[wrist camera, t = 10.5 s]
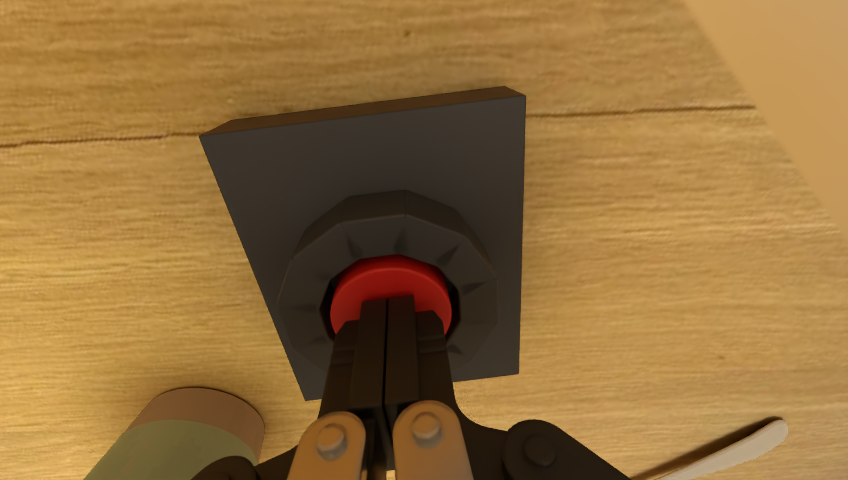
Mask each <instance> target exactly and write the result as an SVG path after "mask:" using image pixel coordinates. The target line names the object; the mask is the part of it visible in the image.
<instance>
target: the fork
mask: <svg viewBox="0 0 848 480" xmlns="http://www.w3.org/2000/svg"><path fill="white" fill-rule="evenodd" d="M787 434H788V427H787V423H786V421H785V420H776V421H773V422H771V423H769V424H768V425H766V426H764V427H763V428H761V429H760V430H758V431H756V432H755V433H753V434H751V435H750V436H748V437H746V438H744V439H742V440H740V441H738V442H736V443H734V444H732V445H730V446H728V447H726V448H724V449H722V450H719V451H717V452H715V453H713V454H711V455H709V456H706V457H704V458H702V459H700V460H698V461H696V462H693V463H691V464H689V465H687V466H685V467H682V468H680V469H678V470H675V471H673V472H671V473H668V474H666V475H664V476H662V477H659V478H657V479H655V480H691V479H694V478H698V477H701V476H704V475H707V474H711V473H714V472H717V471H720V470H723V469H727V468H730V467H733V466H736V465H738V464H741V463H744V462H747V461H749V460H752V459H755V458H757V457H760V456H762V455H764V454H765V453H767V452H768V451H770V450H772V449H773V448H775V447H777V446H778V445H780V444H781V443H782V442H783V441H784V440H785V438H786V436H787Z"/></svg>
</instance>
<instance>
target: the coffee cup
mask: <svg viewBox="0 0 848 480" xmlns="http://www.w3.org/2000/svg"><path fill="white" fill-rule="evenodd" d="M264 434H265V428H264V423H263V421H262V419H261V417H260V416H259V414H258V413H257V412H256V411H255V410H254V409H253V408H252V407H251V406H250V405H248V404H247V403H246V402H244V401H242V400H241V399H239V398H237V397H235V396H232V395H230V394H227V393H224V392H221V391H216V390H212V389H205V388H183V389H177V390H173V391H169V392H166V393H164V394H161V395H159V396H158V397H156V398H154V399H153V400H152V401H151V402H150V403H149V404H148V405H147V406H146V407H145V409H144V410H143V411H142V412H141V413H140V414H139V416H138V417H137V418H136V419H135V420H134V421H133V422H132V424H131V425H130V426H129V427H128V428H127V429H126V431H125V432H124V433H123V434H122V435H121V436H120V437H119V439H118V440H117V441H116V442H115V443H114V444H113V446H112V447H111V448H110V449H109V450H108V451H107V453H106V454H105V455H104V456H103V457H102V459H101V460H100V461H99V462H98V463H97V464H96V466H95V467H94V468H93V469H92V470H91V471H90V473H89V474H88V475H87V476H86V477H85V478H84V480H191V479H192V478H193V477H194V476H195V475H196V474H197V473H198V472H200V471H201V470H202V469H203V468H205V467H206V466H208V465H209V464H211V463H212V462H214V461H216V460H218V459H221V458H224V457H228V456H235V455H236V456H242V457H245V458H247V459H248V460H250V461H251V463H252V464H253V466H256V465H258V463H259V458H260V453H261V448H262V444H263V439H264Z"/></svg>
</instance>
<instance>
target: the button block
mask: <svg viewBox="0 0 848 480" xmlns="http://www.w3.org/2000/svg"><path fill="white" fill-rule="evenodd" d="M525 117H526V95H524V94H522V93H519V92H517V91H515V90H512V89H510V88H508V87H505V86H502V87H494V88H486V89H478V90H470V91H462V92H454V93H446V94H437V95H429V96H421V97H413V98H405V99H397V100H389V101H381V102H373V103H365V104H357V105H349V106H341V107H333V108H325V109H317V110H309V111H301V112H293V113H285V114H277V115H269V116H261V117H253V118H245V119H236V120H230V121H228V122H226V123H224V124H222V125H220V126H218V127H216V128H214V129H212V130H210V131H208V132H206V133H203V134H201V135H200V136H199V139H200V141H201V144H202V146H203V149H204V151H205V154H206V156H207V159H208V161H209V163H210V166H211V168H212V171H213V173H214V176H215V178H216V181H217V183H218V186H219V188H220V191H221V193H222V196H223V198H224V201H225V203H226V206H227V208H228V211H229V213H230V216H231V218H232V220H233V223H234V225H235V228H236V230H237V233H238V235H239V238H240V240H241V243H242V245H243V248H244V250H245V253H246V255H247V258H248V260H249V263H250V265H251V268H252V270H253V273H254V275H255V278H256V280H257V282H258V285H259V287H260V290H261V292H262V295H263V297H264V300H265V302H266V305H267V307H268V310H269V312H270V315H271V317H272V320H273V322H274V325H275V327H276V330H277V332H278V335H279V337H280V339H281V342H282V344H283V347H284V349H285V352H286V354H287V357H288V359H289V362H290V364H291V367H292V369H293V372H294V374H295V377H296V379H297V382H298V384H299V387H300V389H301V392H302V394H303V397H304V399H305V401H309V400H317V399H322V397H323V392H324V387H325V382H326V378H327V373H328V368H329V366H330V359H331V354H332V353H333V345H334V340H335V335H336V333H335V332H334V329H333V327H332V324H331V319H330V310H331V304H332V300H333V296H334V292H335V288H336V284H337V280H338V276H339V273H340V272H342V271H343V270H345V269H346V268H347V267H349V266H350V265H352V264H353V263H355V262H356V261H358V260H359V259H363V258H371V257H379V256H387V255H395V254H402V255H405V256H408V257H411V258H413V259H416V260H419V261H422V262H425V263H428V264H431V265H434V266H437V267H438V268H439V269H440V270H441V271H442V273H443V274H444V275H445V279H446V284H447V289H448V294H449V299H450V304H451V310H452V316H451V322H450V325H449V328H448V330H447V332H446V334H445V339H446V345H447V352H448V358H449V364H450V371H451V377H452V382H460V381H468V380H475V379H483V378H491V377H499V376H507V375H515V374H519V351H520V312H521V273H522V234H523V195H524V156H525Z"/></svg>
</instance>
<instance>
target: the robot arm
mask: <svg viewBox="0 0 848 480" xmlns="http://www.w3.org/2000/svg"><path fill="white" fill-rule="evenodd" d="M388 470H395V479H396V480H631V479H630V478H628V477H627V476H626V475H624V474H623V473H621V472H620V471H619V470H617V469H616V468H614V467H613V466H612V465H610V464H609V463H607V462H606V461H605V460H603V459H602V458H600V457H599V456H598V455H596V454H595V453H593V452H592V451H591V450H589V449H588V448H586V447H585V446H584V445H582V444H581V443H579V442H578V441H577V440H575V439H574V438H572V437H571V436H570V435H568V434H567V433H565V432H564V431H563V430H561V429H560V428H558V427H557V426H555V425H553V424H551V423H549V422H546V421H542V420H524V421H521V422H518V423H517V424H515V425H513V426H512V427H511V428H510V429H509V430H508V431H503V430H498V429H493V428H488V427H484V426H481V425H479V424H476V423H474V422H473V421H471V420H469V419H468V418H467V417H466V416H465V415H464V414H463V413H462V412H461V411H460V409H459V407H458V405H457V403H456V400H455V396H454V390H453V383H452V377H451V371H450V364H449V358H448V352H447V345H446V339H445V333H444V326H443V321H442V320H441V319H440V317H439V316H438V315H437V314H436V312H435V311H434V310H429V311H421V312H416V305H415V299H414V295H406V296H398V297H390V298H389V300H388V298H383V299H375V300H367V301H362V304H361V311H360V318H359V319H358V320H350V321H345V323H344V324H343V325H342V327H341V328H340V329H339V331H338V332H337V334H336V335H335V340H334V345H333V353H332V354H331V359H330V366H329V368H328V373H327V378H326V382H325V387H324V392H323V397H322V401H321V406H320V411H319V415H318V418H317V420H316V421H314V422H313V423H312V424H311V425H310V426H309V427H308V428H307V429H306V430H305V432H304V433H303V435H302V437H301V439H300V441H299V444H298V445H297V446H295V447H294V448H292V449H291V450H289V451H287V452H285V453H283V454H281V455H279V456H276V457H274V458H272V459H270V460H267V461H265V462H263V463H261V464H258V465H256V466H253V464H252V463H251V461H250V460H248V459H247V458H245V457H242V456H236V455H235V456H228V457H224V458H221V459H218V460H216V461H214V462H212V463H211V464H209V465H208V466H206V467H205V468H203V469H202V470H201V471H200V472H198V473H197V474H196V475H195V476H194V477H193V478H192V479H191V480H386V471H388Z"/></svg>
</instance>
